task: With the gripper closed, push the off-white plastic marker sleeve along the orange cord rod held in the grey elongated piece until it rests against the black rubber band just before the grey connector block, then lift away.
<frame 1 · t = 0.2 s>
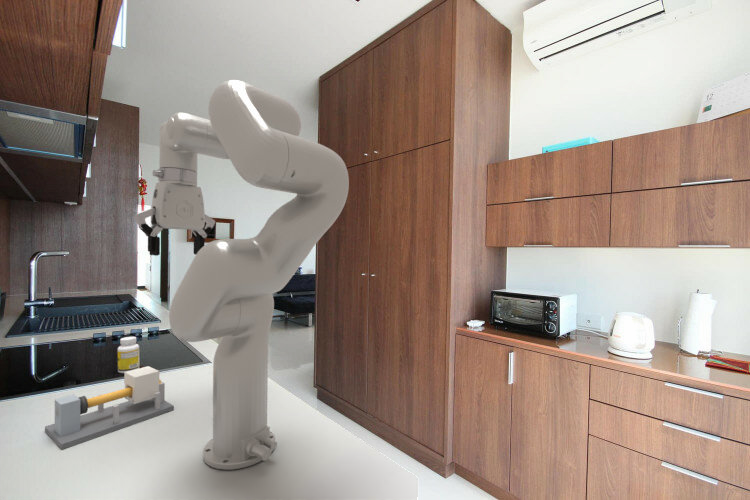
hand: (177, 254, 81), 36 cm above the countertop, tool pointing down, fingers open, 9 cm apart
supplement can: (236, 392, 92), on the countertop
supplement bottle: (128, 371, 107), on the countertop
grey elongated piece: (113, 419, 77), on the countertop
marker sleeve: (141, 384, 82), point 6 cm above the countertop, slide at 0.0 cm
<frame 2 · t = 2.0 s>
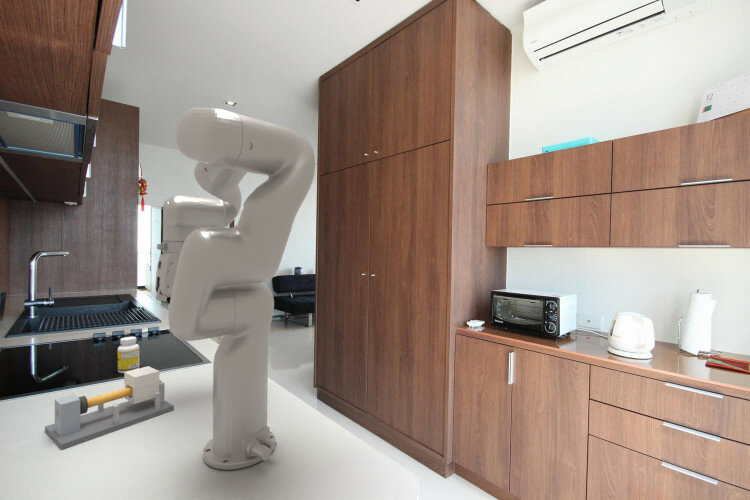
hand: (179, 322, 89), 19 cm above the countertop, tool pointing down, fingers closed
nothing on the countertop moved.
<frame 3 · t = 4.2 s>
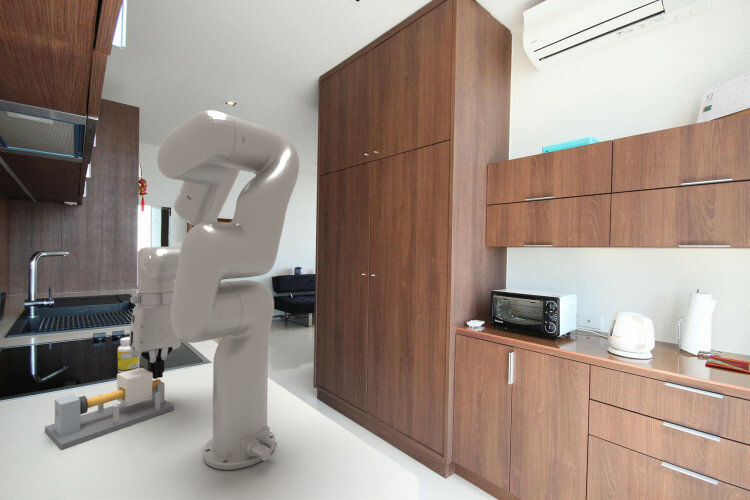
hand: (156, 376, 84), 7 cm above the countertop, tool pointing down, fingers closed
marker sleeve: (134, 386, 80), point 6 cm above the countertop, slide at 1.4 cm, touching gripper
everything else where it was.
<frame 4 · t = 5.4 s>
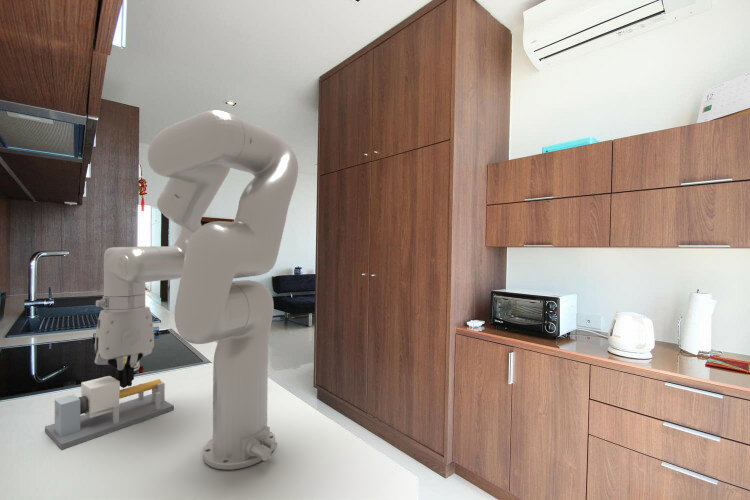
hand: (124, 385, 79), 7 cm above the countertop, tool pointing down, fingers closed
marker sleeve: (100, 395, 75), point 6 cm above the countertop, slide at 7.9 cm, touching gripper
everything else where it was.
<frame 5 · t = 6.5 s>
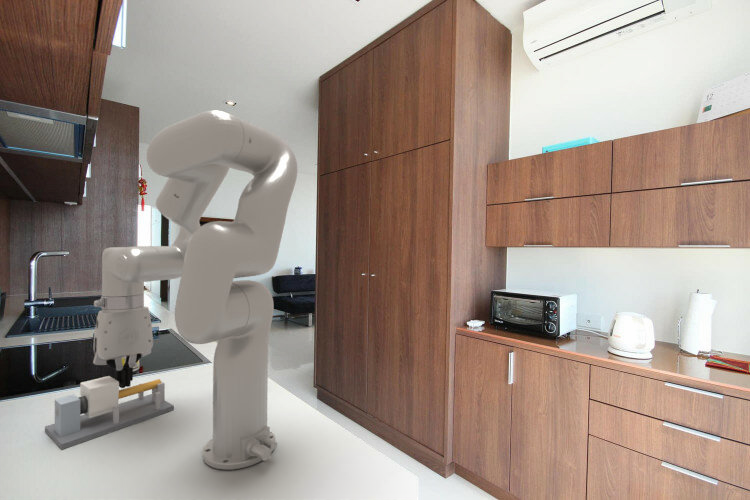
hand: (123, 385, 79), 7 cm above the countertop, tool pointing down, fingers closed
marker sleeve: (99, 396, 75), point 6 cm above the countertop, slide at 8.0 cm, touching grey elongated piece, gripper
everything else where it was.
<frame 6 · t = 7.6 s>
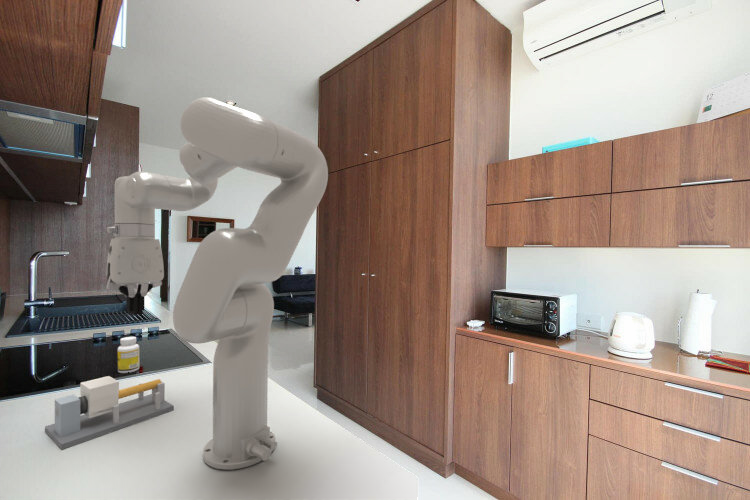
hand: (135, 314, 80), 22 cm above the countertop, tool pointing down, fingers closed
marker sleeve: (99, 396, 75), point 6 cm above the countertop, slide at 8.0 cm, touching grey elongated piece
everything else where it was.
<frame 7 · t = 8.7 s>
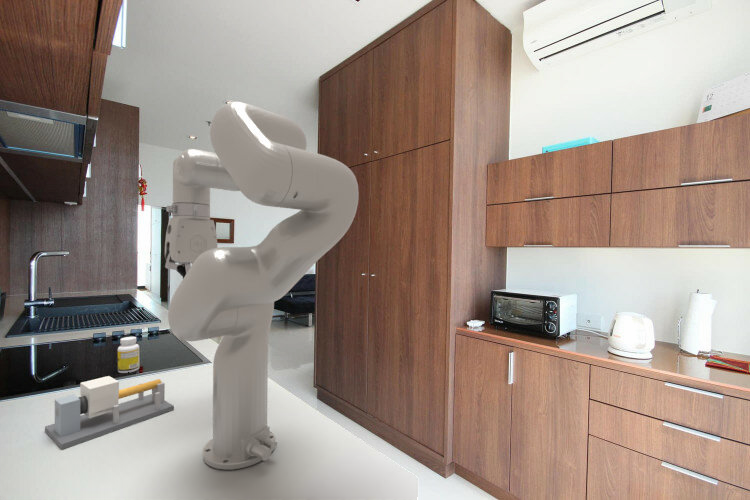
hand: (191, 293, 80), 27 cm above the countertop, tool pointing down, fingers closed
nothing on the countertop moved.
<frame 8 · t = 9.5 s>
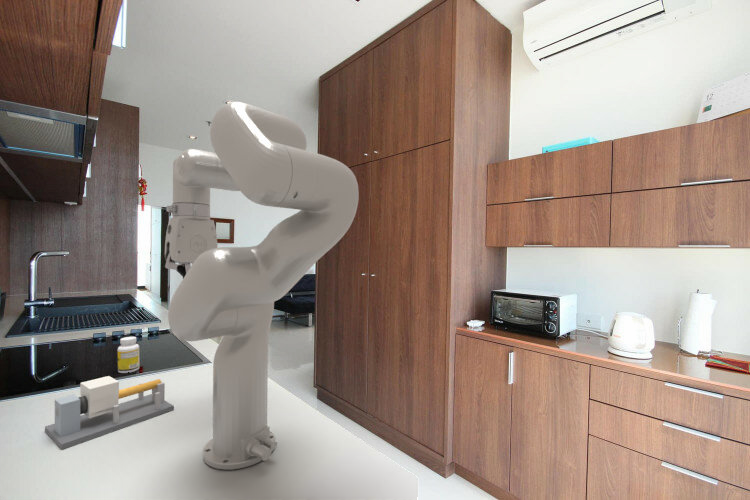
hand: (191, 293, 80), 27 cm above the countertop, tool pointing down, fingers closed
nothing on the countertop moved.
at the end: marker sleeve slide at 8.0 cm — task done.
